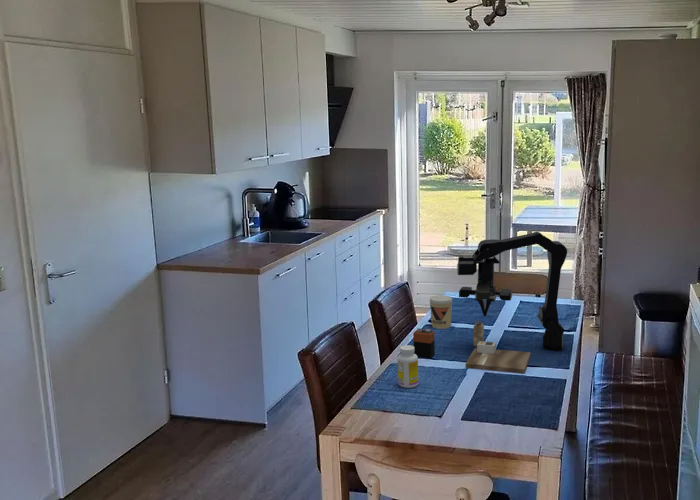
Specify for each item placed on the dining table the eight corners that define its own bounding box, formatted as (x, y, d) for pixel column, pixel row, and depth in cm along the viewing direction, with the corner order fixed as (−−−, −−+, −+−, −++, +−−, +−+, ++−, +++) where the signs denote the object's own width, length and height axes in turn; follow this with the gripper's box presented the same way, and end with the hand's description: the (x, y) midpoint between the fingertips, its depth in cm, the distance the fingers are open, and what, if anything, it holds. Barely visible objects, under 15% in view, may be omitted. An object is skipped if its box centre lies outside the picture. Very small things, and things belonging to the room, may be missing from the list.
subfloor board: (530, 356, 253) (530, 352, 252) (524, 373, 237) (524, 369, 237) (474, 351, 260) (474, 347, 259) (465, 367, 244) (465, 363, 244)
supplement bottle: (420, 381, 234) (419, 344, 231) (415, 389, 228) (415, 351, 225) (401, 379, 236) (400, 343, 233) (395, 387, 230) (394, 350, 227)
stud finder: (495, 350, 255) (495, 342, 255) (493, 354, 252) (493, 345, 251) (479, 348, 257) (479, 340, 257) (477, 352, 254) (477, 344, 253)
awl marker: (483, 343, 267) (483, 320, 266) (482, 346, 265) (482, 323, 263) (475, 343, 269) (475, 320, 267) (473, 345, 266) (473, 322, 264)
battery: (430, 358, 255) (430, 332, 252) (413, 355, 258) (412, 329, 256) (435, 354, 258) (434, 328, 256) (418, 352, 261) (417, 326, 259)
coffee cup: (427, 328, 288) (426, 300, 286) (433, 321, 297) (433, 294, 294) (449, 330, 285) (449, 301, 282) (455, 323, 293) (454, 295, 291)
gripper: (456, 278, 252) (455, 320, 255) (509, 281, 246) (508, 324, 249) (461, 271, 262) (461, 311, 266) (512, 274, 256) (511, 315, 260)
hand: (485, 315), depth 260 cm, fingers closed
